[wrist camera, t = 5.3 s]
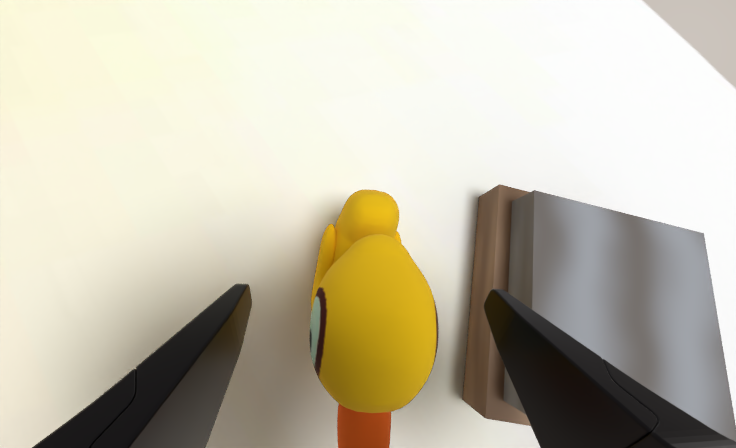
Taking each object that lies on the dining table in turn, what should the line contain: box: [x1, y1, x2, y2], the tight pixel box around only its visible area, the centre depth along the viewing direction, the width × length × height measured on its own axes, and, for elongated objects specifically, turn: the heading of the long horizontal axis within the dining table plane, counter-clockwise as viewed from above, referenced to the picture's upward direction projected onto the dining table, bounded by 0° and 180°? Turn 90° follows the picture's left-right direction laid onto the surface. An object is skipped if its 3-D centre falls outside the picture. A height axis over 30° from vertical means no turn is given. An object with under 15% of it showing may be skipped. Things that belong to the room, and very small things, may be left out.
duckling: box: [310, 190, 438, 448], centre depth 12 cm, size 11×5×10 cm, turn 175°
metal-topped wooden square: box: [463, 185, 736, 441], centre depth 17 cm, size 14×14×4 cm
